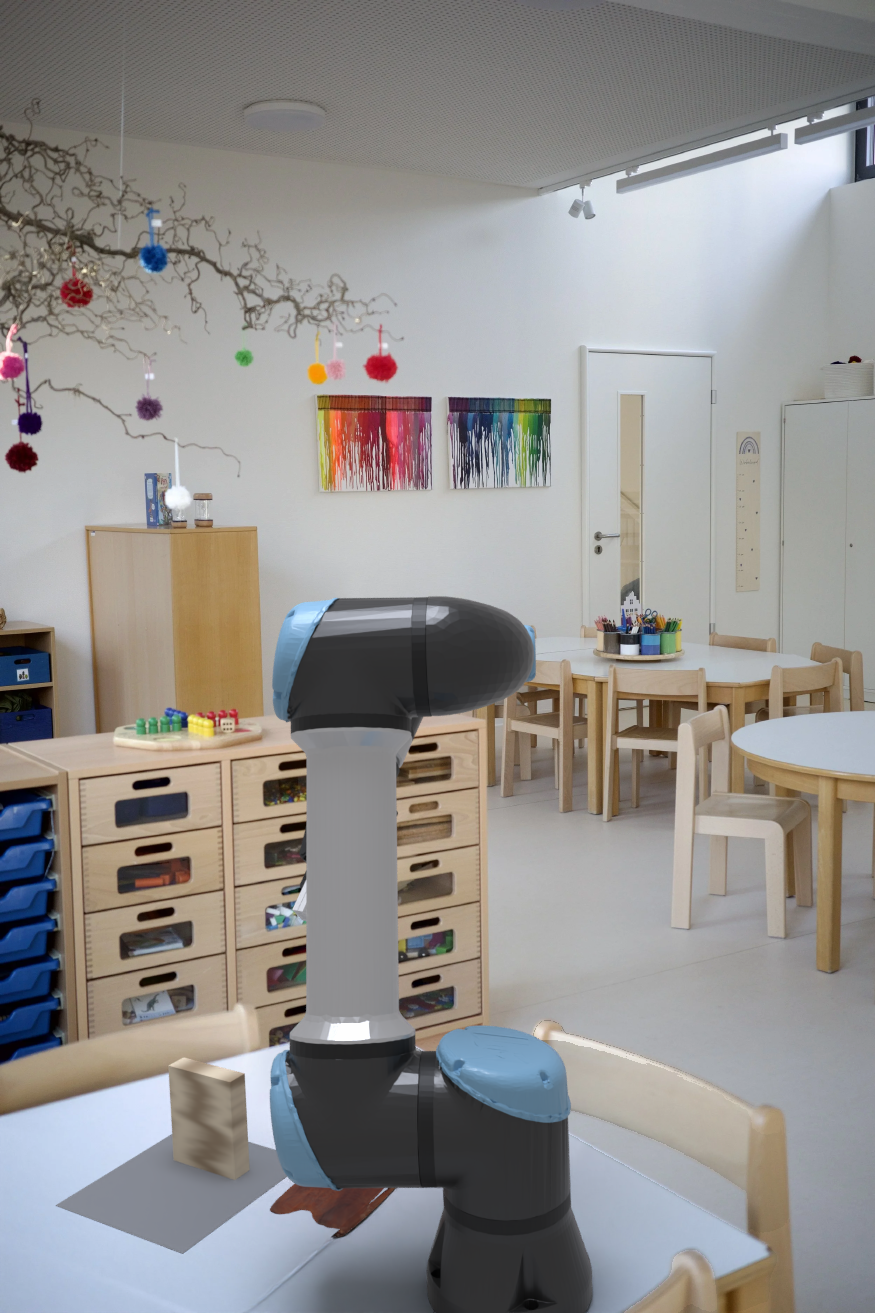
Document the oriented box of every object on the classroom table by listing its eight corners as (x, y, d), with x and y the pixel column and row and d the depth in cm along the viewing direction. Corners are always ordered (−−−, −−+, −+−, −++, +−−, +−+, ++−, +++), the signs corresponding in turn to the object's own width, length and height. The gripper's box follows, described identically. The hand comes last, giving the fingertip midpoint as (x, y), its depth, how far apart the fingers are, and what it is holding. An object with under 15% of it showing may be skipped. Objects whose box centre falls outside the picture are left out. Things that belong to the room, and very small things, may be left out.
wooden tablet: (345, 1247, 118) (344, 1231, 118) (261, 1224, 123) (261, 1208, 123) (462, 1126, 142) (461, 1112, 142) (388, 1110, 146) (387, 1097, 146)
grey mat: (309, 1165, 133) (309, 1160, 133) (183, 1259, 116) (182, 1253, 116) (188, 1128, 142) (188, 1123, 142) (55, 1211, 125) (55, 1205, 125)
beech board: (250, 1169, 131) (245, 1073, 130) (235, 1180, 129) (229, 1082, 128) (189, 1150, 136) (183, 1057, 135) (173, 1160, 134) (168, 1065, 133)
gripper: (428, 777, 157) (360, 938, 145) (346, 770, 164) (275, 923, 152) (404, 744, 152) (332, 908, 140) (322, 738, 159) (245, 894, 147)
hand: (302, 916), depth 146 cm, fingers closed
